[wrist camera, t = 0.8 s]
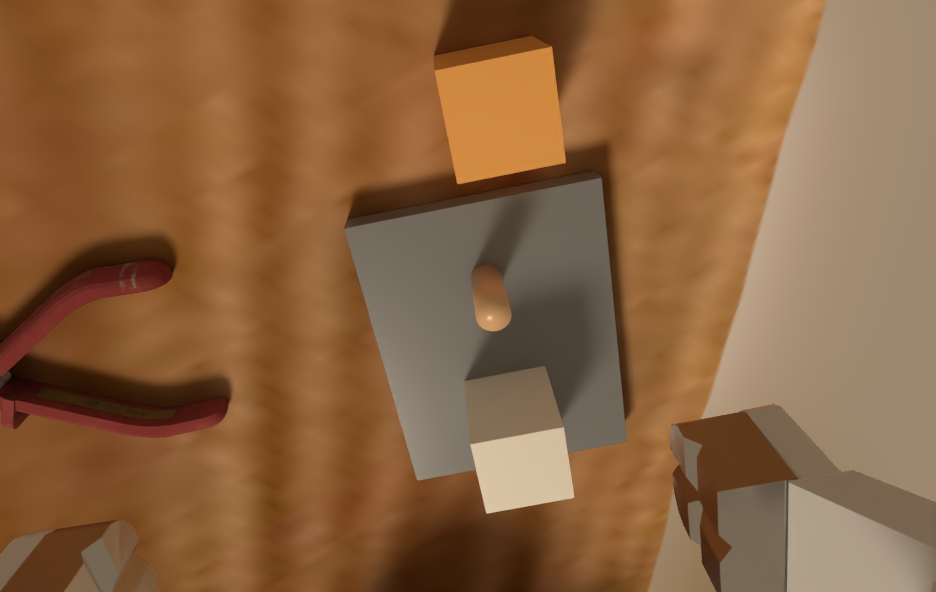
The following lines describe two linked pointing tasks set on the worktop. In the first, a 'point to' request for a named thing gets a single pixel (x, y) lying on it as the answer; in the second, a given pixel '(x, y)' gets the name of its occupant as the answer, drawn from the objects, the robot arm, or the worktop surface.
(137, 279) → the pliers
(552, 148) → the orange matte cube
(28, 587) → the robot arm
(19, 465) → the worktop surface
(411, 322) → the plate
